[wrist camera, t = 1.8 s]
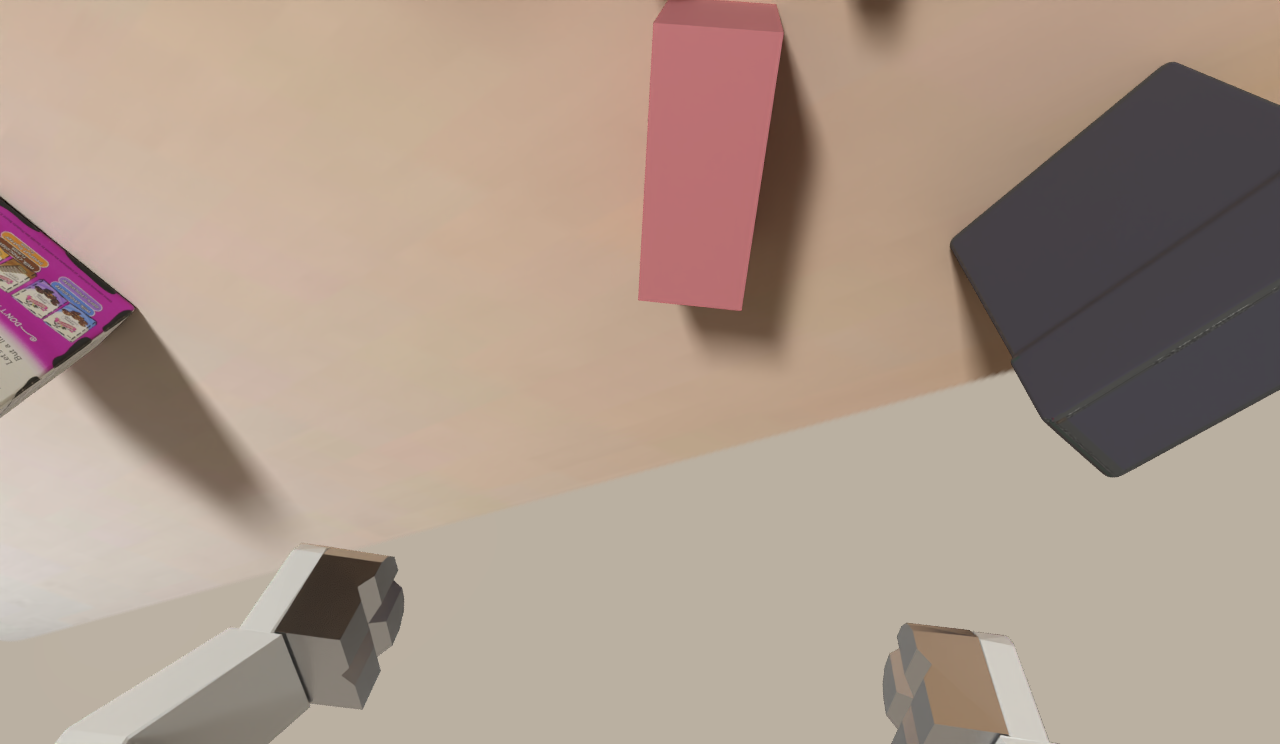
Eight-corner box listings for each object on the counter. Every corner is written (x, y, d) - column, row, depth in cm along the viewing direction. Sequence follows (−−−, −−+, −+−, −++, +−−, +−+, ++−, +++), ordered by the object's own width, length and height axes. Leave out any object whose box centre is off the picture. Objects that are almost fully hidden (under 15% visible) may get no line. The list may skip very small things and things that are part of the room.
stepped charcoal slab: (994, 286, 36) (1123, 497, 24) (938, 234, 35) (1043, 426, 22) (1218, 117, 30) (1541, 276, 18) (1160, 47, 29) (1464, 167, 17)
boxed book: (776, 4, 30) (783, 32, 24) (741, 243, 36) (741, 310, 30) (670, -4, 30) (653, 23, 24) (654, 235, 37) (638, 300, 31)
